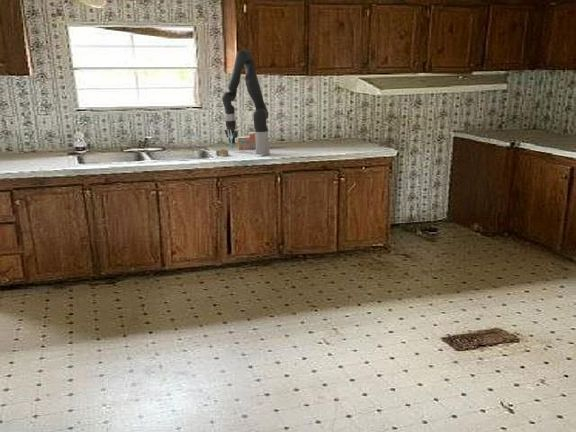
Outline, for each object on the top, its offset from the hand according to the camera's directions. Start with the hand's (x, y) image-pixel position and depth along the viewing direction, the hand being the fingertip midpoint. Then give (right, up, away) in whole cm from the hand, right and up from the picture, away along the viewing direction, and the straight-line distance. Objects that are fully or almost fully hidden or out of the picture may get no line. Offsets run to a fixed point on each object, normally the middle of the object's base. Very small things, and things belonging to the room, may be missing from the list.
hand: (232, 143), depth 412 cm
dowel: (0, -3, +1) cm, 3 cm away
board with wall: (-5, -12, -12) cm, 17 cm away
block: (-5, -10, -12) cm, 17 cm away
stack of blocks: (+13, -1, +22) cm, 26 cm away
